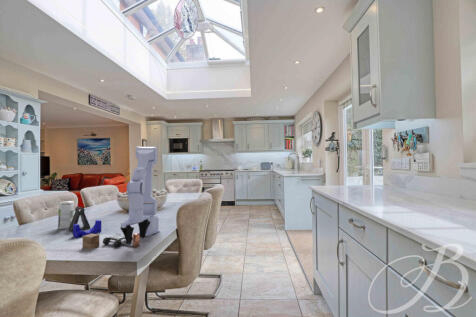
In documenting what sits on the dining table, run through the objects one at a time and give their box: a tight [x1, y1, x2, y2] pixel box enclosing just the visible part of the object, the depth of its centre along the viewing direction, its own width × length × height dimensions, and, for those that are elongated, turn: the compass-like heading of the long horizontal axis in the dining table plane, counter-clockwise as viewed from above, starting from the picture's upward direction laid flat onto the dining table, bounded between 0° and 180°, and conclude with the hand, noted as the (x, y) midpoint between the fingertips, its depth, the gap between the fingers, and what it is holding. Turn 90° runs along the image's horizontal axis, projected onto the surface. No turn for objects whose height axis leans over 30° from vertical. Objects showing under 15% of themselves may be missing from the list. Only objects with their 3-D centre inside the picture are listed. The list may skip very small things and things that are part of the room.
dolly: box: [102, 233, 133, 248], centre depth 110 cm, size 9×8×3 cm
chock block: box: [82, 233, 100, 250], centre depth 106 cm, size 4×5×5 cm
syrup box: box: [57, 200, 75, 230], centre depth 138 cm, size 6×6×14 cm
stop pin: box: [122, 232, 141, 248], centre depth 107 cm, size 3×8×5 cm, turn 66°
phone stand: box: [68, 206, 91, 233], centre depth 135 cm, size 9×6×12 cm, turn 137°
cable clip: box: [72, 219, 102, 239], centre depth 125 cm, size 12×4×6 cm, turn 145°
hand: (135, 240), depth 106 cm, fingers open, 7 cm apart
